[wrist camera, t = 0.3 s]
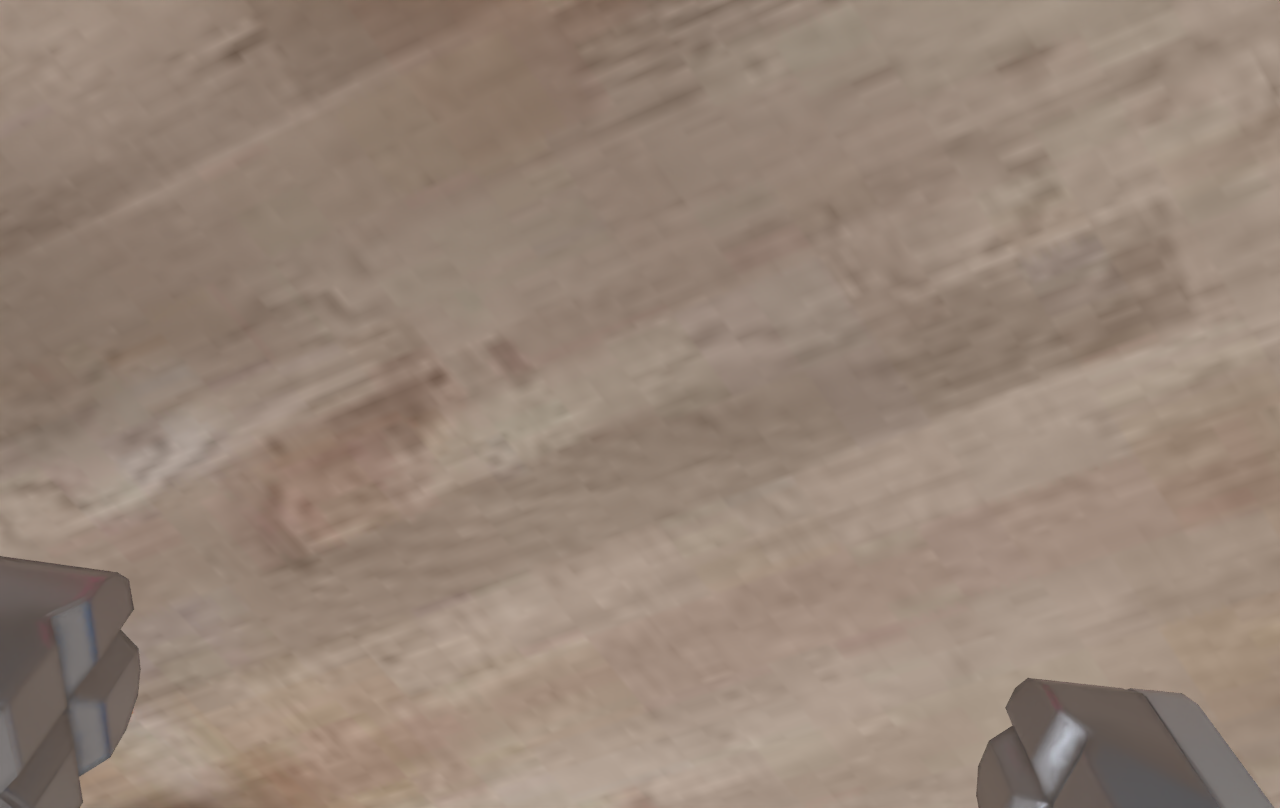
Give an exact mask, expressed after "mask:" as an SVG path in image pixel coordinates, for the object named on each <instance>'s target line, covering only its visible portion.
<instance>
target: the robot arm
mask: <svg viewBox="0 0 1280 808" xmlns="http://www.w3.org/2000/svg"><path fill="white" fill-rule="evenodd" d="M133 610H134V607H133V601H132V595H131V589H130V583H129V579H127V578H126V577H124V576H123V575H121V574H119V573H118V572H111V571H103V570H96V569H89V568H82V567H75V566H67V565H60V564H53V563H46V562H39V561H31V560H24V559H17V558H10V557H3V556H0V808H80V807H81V805H82V803H83V800H82V793H81V787H80V780H79V776H81V775H83V774H84V773H86V772H88V771H89V770H91V769H92V768H94V767H96V766H97V765H99V764H100V763H102V762H104V761H105V760H107V759H108V758H110V757H111V755H112V753H113V752H114V750H115V748H116V746H117V745H118V743H119V741H120V740H121V738H122V736H123V734H124V733H125V731H126V729H127V726H128V723H129V720H130V717H131V714H132V711H133V708H134V705H135V702H136V699H137V696H138V689H139V680H140V670H141V669H140V659H139V649H138V647H137V646H136V645H135V644H134V643H133V642H132V641H131V640H130V639H129V638H128V637H127V636H126V635H125V634H124V633H123V632H122V630H121V627H122V626H123V625H124V623H125V622H126V620H127V619H128V617H129V616H130V614H131V613H132V611H133ZM1005 708H1006V710H1007V713H1008V715H1009V718H1010V720H1011V723H1012V725H1013V726H1011V727H1010V728H1008V729H1007V730H1005V731H1003V732H1002V733H1000V734H999V735H997V736H996V737H994V738H993V739H991V740H990V741H989V742H988V745H987V747H986V749H985V752H984V754H983V756H982V759H981V761H980V763H979V766H978V777H977V792H976V796H977V802H978V807H979V808H1274V807H1273V806H1272V804H1271V803H1270V802H1269V800H1268V799H1267V797H1266V796H1265V795H1264V793H1263V792H1262V791H1261V789H1260V788H1259V787H1258V785H1257V784H1256V783H1255V781H1254V780H1253V778H1252V777H1251V776H1250V774H1249V773H1248V772H1247V770H1246V769H1245V768H1244V766H1243V765H1242V764H1241V762H1240V761H1239V759H1238V758H1237V757H1236V755H1235V754H1234V753H1233V751H1232V750H1231V749H1230V747H1229V746H1228V744H1227V743H1226V742H1225V740H1224V739H1223V738H1222V736H1221V735H1220V734H1219V732H1218V731H1217V730H1216V728H1215V727H1214V725H1213V724H1212V723H1211V721H1210V720H1209V719H1208V717H1207V716H1206V715H1205V713H1204V712H1203V711H1202V709H1201V708H1200V706H1199V705H1198V704H1196V703H1195V702H1194V701H1192V700H1191V699H1189V698H1188V697H1186V696H1185V695H1184V694H1182V693H1174V692H1163V691H1153V690H1143V689H1133V688H1130V689H1123V688H1116V687H1107V686H1097V685H1088V684H1079V683H1069V682H1060V681H1051V680H1042V679H1032V678H1027V679H1026V680H1025V681H1023V682H1022V683H1021V684H1020V685H1018V686H1017V687H1016V688H1015V690H1014V692H1013V694H1012V696H1011V697H1010V699H1009V701H1008V703H1007V705H1006V707H1005Z"/></svg>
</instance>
